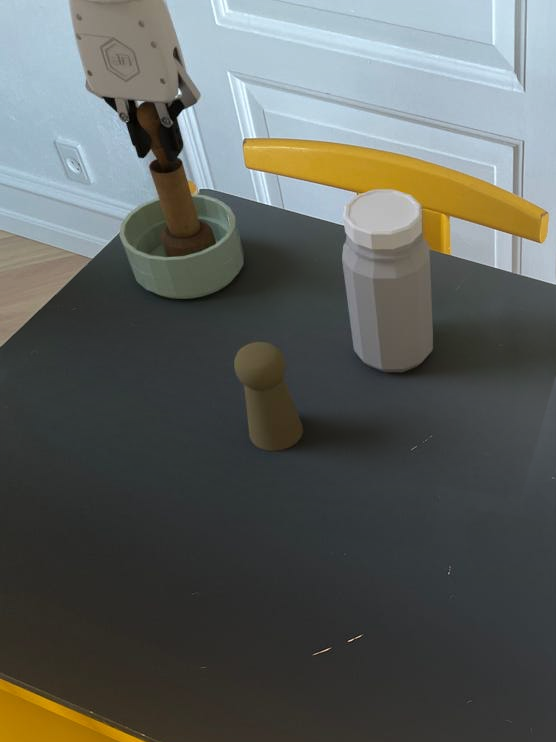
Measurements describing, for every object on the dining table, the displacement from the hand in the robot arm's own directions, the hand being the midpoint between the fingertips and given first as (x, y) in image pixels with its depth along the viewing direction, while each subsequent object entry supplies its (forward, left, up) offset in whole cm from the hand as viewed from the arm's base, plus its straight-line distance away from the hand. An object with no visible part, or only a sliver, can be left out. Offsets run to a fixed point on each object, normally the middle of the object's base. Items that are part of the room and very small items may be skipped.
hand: (160, 152), depth 105 cm
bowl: (0, -1, -15) cm, 15 cm away
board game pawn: (+20, -28, -15) cm, 37 cm away
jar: (+30, -12, -15) cm, 36 cm away
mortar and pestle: (0, 0, -13) cm, 13 cm away
